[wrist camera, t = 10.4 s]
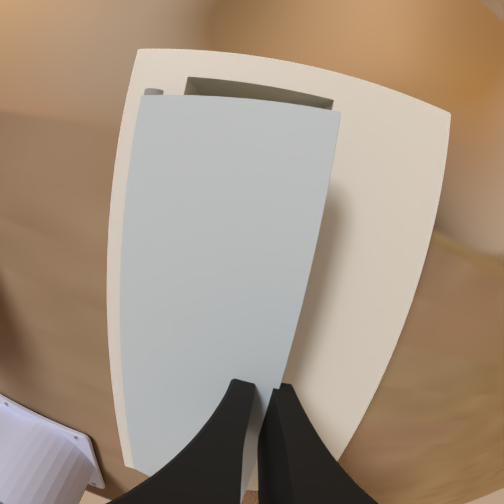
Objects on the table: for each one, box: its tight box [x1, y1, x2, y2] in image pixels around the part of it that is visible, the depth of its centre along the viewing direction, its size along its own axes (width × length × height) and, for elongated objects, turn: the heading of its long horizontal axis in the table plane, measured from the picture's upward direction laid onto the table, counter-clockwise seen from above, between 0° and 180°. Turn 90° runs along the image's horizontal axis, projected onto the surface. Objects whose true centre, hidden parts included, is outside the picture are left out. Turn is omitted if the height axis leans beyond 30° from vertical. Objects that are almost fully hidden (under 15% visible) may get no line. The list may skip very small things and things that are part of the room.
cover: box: [120, 88, 341, 504], centre depth 10 cm, size 17×6×1 cm, turn 170°
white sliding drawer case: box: [107, 49, 451, 491], centre depth 12 cm, size 20×11×3 cm, turn 170°
